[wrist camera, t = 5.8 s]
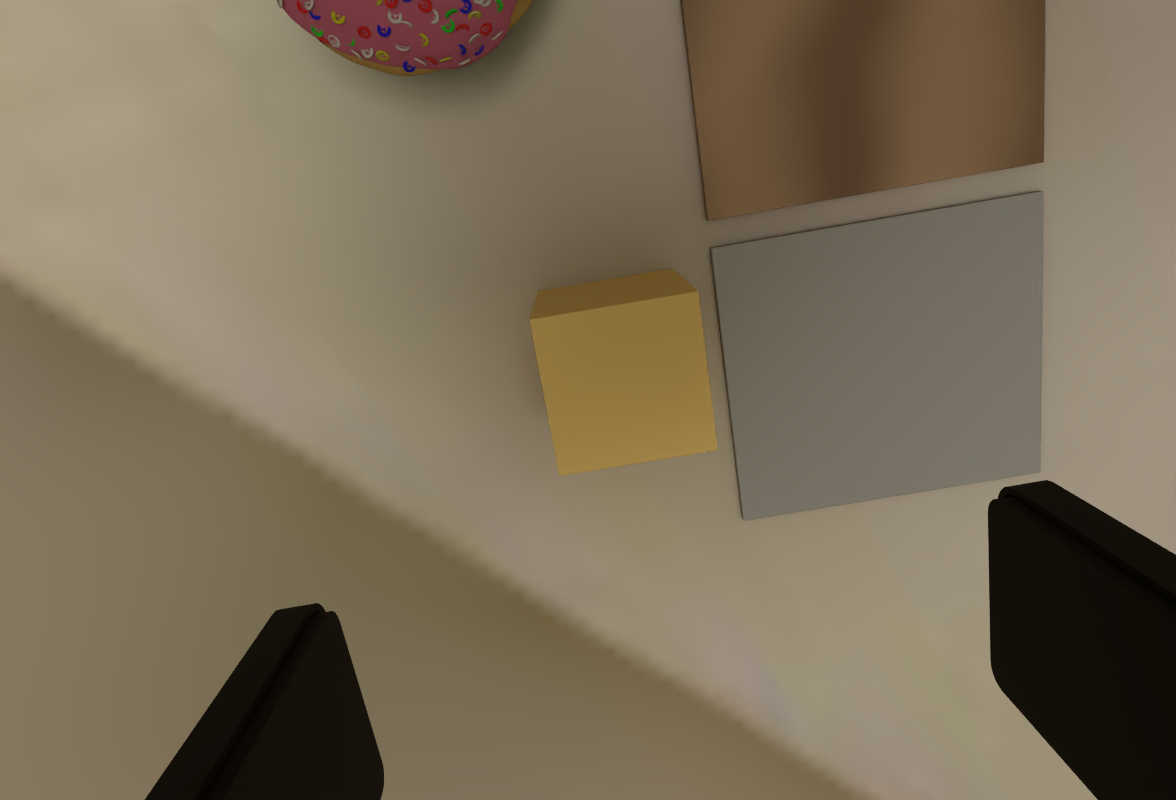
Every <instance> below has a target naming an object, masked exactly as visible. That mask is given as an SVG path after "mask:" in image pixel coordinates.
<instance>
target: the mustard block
mask: <svg viewBox="0 0 1176 800" xmlns="http://www.w3.org/2000/svg"><path fill="white" fill-rule="evenodd" d="M530 325H531V330H532V336H533V341H534V346H535V351H536V357H537V362H538V367H539V372H540V377H541V383H542V388H543V393H544V398H545V404H546V409H547V414H548V419H549V424H550V430H551V435H552V440H553V445H554V451H555V456H556V461H557V466H558V471H559V476H562V475H568V474H574V473H580V472H586V471H592V470H599V469H605V468H611V467H617V466H623V465H629V464H635V463H642V462H648V461H654V460H660V459H666V458H672V457H678V456H684V455H691V454H697V453H703V452H709V451H715V450H718V447H717V439H716V431H715V423H714V415H713V407H712V399H711V390H710V382H709V374H708V366H707V358H706V350H705V342H704V333H703V325H702V317H701V309H700V301H699V293H698V291H697V290H696V289H695V288H694V287H693V286H692V285H690V284H689V283H688V282H687V281H686V280H684V279H683V278H682V277H681V276H680V275H679V274H677V273H676V272H675V271H674V270H673V269H666V270H660V271H654V272H648V273H642V274H636V275H631V276H625V277H619V278H613V279H607V280H601V281H595V282H589V283H584V284H578V285H572V286H566V287H560V288H554V289H548V290H542V291H538V294H537V297H536V300H535V304H534V307H533V310H532V313H531V316H530Z"/></svg>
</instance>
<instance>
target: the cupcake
mask: <svg viewBox="0 0 1176 800" xmlns="http://www.w3.org/2000/svg"><path fill="white" fill-rule="evenodd" d="M277 2H278V5H279V7H280V8H283V9H284V10H285V12H286V13H287V14H288V15H289V16H290V17H291V18H292V19H293V20H294V21H295V22H296V23H297V24H298V25H300V26H301V27H302V28H303V29H305V30H306V31H307V32H309V33H310V34H312V35H313V36H315V37H316V38H317V39H318V40H319V41H320V42H322V43H323V44H324V45H326V46H327V47H328V48H330V49H331V50H333V51H334V52H336V53H338V54H339V55H341V56H343V57H345V58H346V59H348V60H351V61H353V62H355V63H358V64H360V65H363V66H366V67H369V68H373V69H376V70H379V71H383V72H386V73H390V74H394V75H400V76H411V75H419V74H425V73H430V72H434V71H438V70H441V69H454V68H459V67H463V66H466V65H468V64H471V63H473V62H475V61H477V60H478V59H480V58H482V57H483V56H485V55H487V54H488V53H489V52H491V51H492V50H493V49H494V48H496V47H497V46H498V45H499V44H500V42H501V41H502V40H503V39H504V37H505V36H506V34H507V32H508V30H509V29H510V28H511V27H512V26H513V25H514V24H515V23H516V22H517V21H518V20H519V19H520V18H521V17H522V16H523V15H524V13H525V12H526V11H527V9H528V8H529V6H530V4H531V3H532V0H277Z"/></svg>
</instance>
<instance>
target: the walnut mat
mask: <svg viewBox="0 0 1176 800" xmlns="http://www.w3.org/2000/svg"><path fill="white" fill-rule="evenodd" d="M681 7H682V16H683V24H684V33H685V41H686V50H687V58H688V66H689V75H690V83H691V92H692V100H693V108H694V117H695V125H696V134H697V142H698V151H699V159H700V167H701V176H702V184H703V193H704V201H705V209H706V218H707V220H708V221H709V220H715V219H721V218H727V217H732V216H738V215H744V214H750V213H755V212H761V211H767V210H772V209H778V208H784V207H790V206H795V205H801V204H807V203H813V202H818V201H824V200H830V199H836V198H841V197H847V196H853V195H858V194H864V193H870V192H876V191H881V190H887V189H893V188H899V187H904V186H910V185H916V184H921V183H927V182H933V181H939V180H944V179H950V178H956V177H962V176H967V175H973V174H979V173H985V172H990V171H996V170H1002V169H1007V168H1013V167H1019V166H1025V165H1030V164H1036V163H1042V162H1044V75H1045V0H681Z"/></svg>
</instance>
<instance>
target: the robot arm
mask: <svg viewBox="0 0 1176 800" xmlns="http://www.w3.org/2000/svg"><path fill="white" fill-rule="evenodd" d="M988 539H989V596H990V652H991V667H992V671H993V675H994V677H995V680H996V682H997V684H998V685H999V687H1000V688H1001V690H1002V691H1003V692H1004V694H1005V695H1006V696H1007V697H1008V698H1009V699H1010V700H1011V702H1012V703H1013V704H1014V705H1015V706H1016V707H1017V708H1018V709H1019V711H1020V712H1021V713H1022V714H1023V715H1024V716H1025V717H1026V719H1027V720H1028V721H1029V722H1030V723H1031V724H1032V725H1033V727H1034V728H1035V729H1036V730H1037V731H1038V732H1039V733H1040V734H1041V736H1042V737H1043V738H1044V739H1045V740H1046V741H1047V742H1048V744H1049V745H1050V746H1051V747H1052V748H1053V749H1054V750H1055V752H1056V753H1057V754H1058V755H1059V756H1060V757H1061V758H1062V759H1063V761H1064V762H1065V763H1066V764H1067V765H1068V766H1069V767H1070V769H1071V770H1072V771H1073V772H1074V773H1075V774H1076V775H1077V777H1078V778H1079V779H1080V780H1081V781H1082V782H1083V783H1084V784H1085V786H1086V787H1087V788H1088V789H1089V790H1090V791H1091V792H1092V794H1093V795H1094V796H1095V797H1096V798H1097V799H1098V800H1176V555H1175V554H1173V553H1172V552H1170V551H1168V550H1167V549H1165V548H1163V547H1162V546H1160V545H1158V544H1156V543H1155V542H1153V541H1151V540H1150V539H1148V538H1146V537H1145V536H1143V535H1141V534H1140V533H1138V532H1136V531H1134V530H1133V529H1131V528H1129V527H1128V526H1126V525H1124V524H1123V523H1121V522H1119V521H1118V520H1116V519H1114V518H1113V517H1111V516H1109V515H1107V514H1106V513H1104V512H1102V511H1101V510H1099V509H1097V508H1096V507H1094V506H1092V505H1091V504H1089V503H1087V502H1086V501H1084V500H1082V499H1080V498H1079V497H1077V496H1075V495H1074V494H1072V493H1070V492H1069V491H1067V490H1065V489H1064V488H1062V487H1060V486H1058V485H1057V484H1055V483H1053V482H1051V481H1048V480H1045V481H1038V482H1033V483H1027V484H1021V485H1015V486H1009V487H1004V488H1003V489H1002V490H1001V491H1000V493H999V496H998V499H994V500H992V501H991V502H990V504H989V507H988ZM383 787H384V769H383V764H382V760H381V756H380V753H379V750H378V747H377V743H376V740H375V737H374V733H373V730H372V727H371V723H370V720H369V717H368V713H367V710H366V707H365V704H364V700H363V697H362V693H361V690H360V687H359V684H358V681H357V677H356V674H355V670H354V667H353V664H352V660H351V657H350V654H349V650H348V647H347V644H346V641H345V637H344V634H343V631H342V627H341V624H340V621H339V619H338V616H337V615H336V613H335V612H333V611H329V612H325V610H324V608H323V607H322V606H321V605H320V604H318V603H315V604H310V605H304V606H298V607H292V608H286V609H281V610H276V611H275V612H274V614H273V615H272V616H271V617H270V619H269V620H268V622H267V623H266V625H265V626H264V628H263V629H262V631H261V632H260V633H259V635H258V636H257V638H256V639H255V641H254V642H253V644H252V645H251V646H250V648H249V649H248V651H247V652H246V654H245V655H244V657H243V658H242V660H241V661H240V662H239V664H238V665H237V667H236V668H235V670H234V671H233V673H232V674H231V675H230V677H229V679H228V680H227V681H226V683H225V684H224V686H223V687H222V688H221V690H220V691H219V693H218V695H217V696H216V697H215V699H214V700H213V702H212V703H211V704H210V706H209V707H208V709H207V710H206V712H205V713H204V715H203V716H202V718H201V719H200V721H199V722H198V723H197V725H196V726H195V728H194V729H193V731H192V732H191V733H190V735H189V737H188V738H187V739H186V741H185V742H184V744H183V745H182V747H181V748H180V749H179V751H178V752H177V754H176V755H175V757H174V758H173V760H172V761H171V762H170V764H169V765H168V767H167V768H166V770H165V771H164V773H163V774H162V776H161V777H160V778H159V780H158V781H157V783H156V784H155V786H154V787H153V789H152V790H151V792H150V793H149V794H148V796H147V797H146V799H145V800H380V799H381V795H382V792H383Z"/></svg>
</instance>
